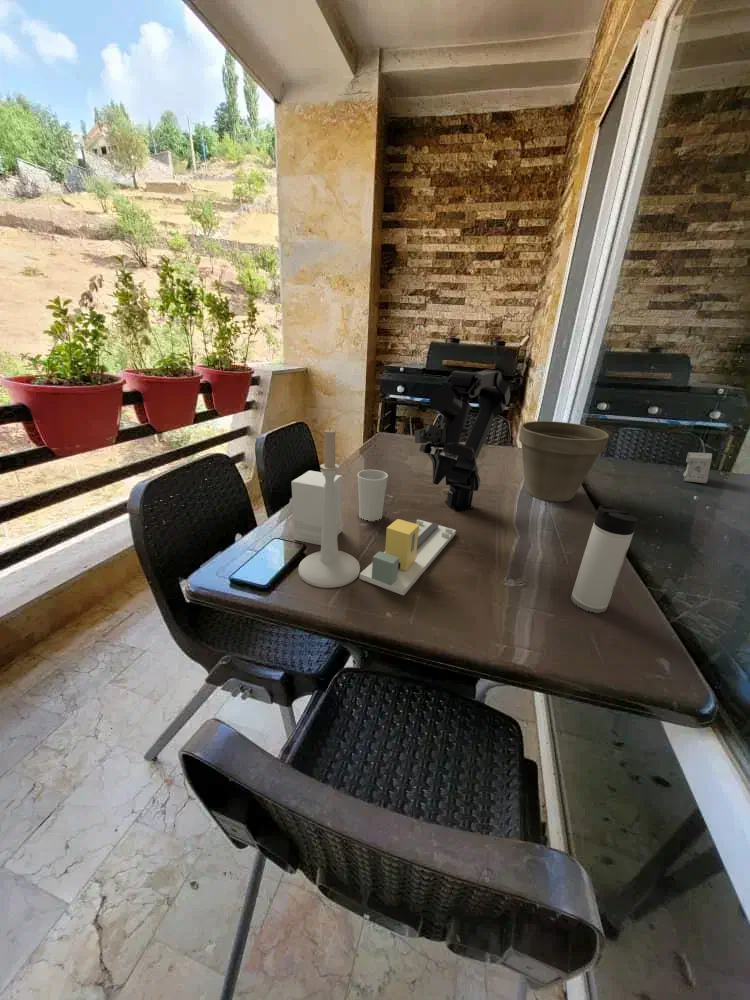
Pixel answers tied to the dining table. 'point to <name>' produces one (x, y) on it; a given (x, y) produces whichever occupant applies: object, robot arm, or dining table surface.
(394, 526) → the yellow sliding block
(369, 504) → the cup
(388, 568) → the white slide rail base
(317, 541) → the supplement box
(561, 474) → the plant pot
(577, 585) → the travel mug
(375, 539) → the dining table surface
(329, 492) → the candlestick
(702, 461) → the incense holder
